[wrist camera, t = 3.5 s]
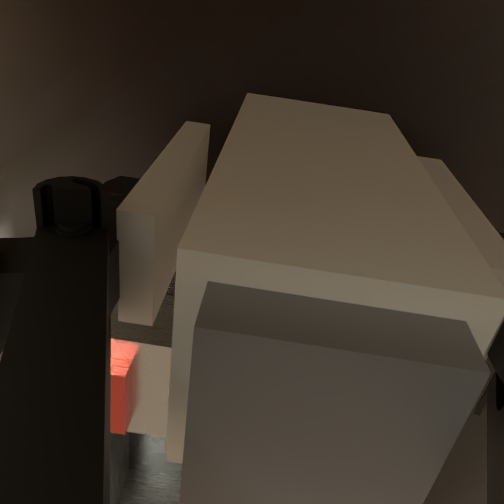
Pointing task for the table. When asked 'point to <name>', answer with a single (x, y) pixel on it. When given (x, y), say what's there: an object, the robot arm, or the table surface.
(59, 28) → the table surface
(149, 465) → the socket block
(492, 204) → the table surface
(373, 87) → the table surface
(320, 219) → the plug
